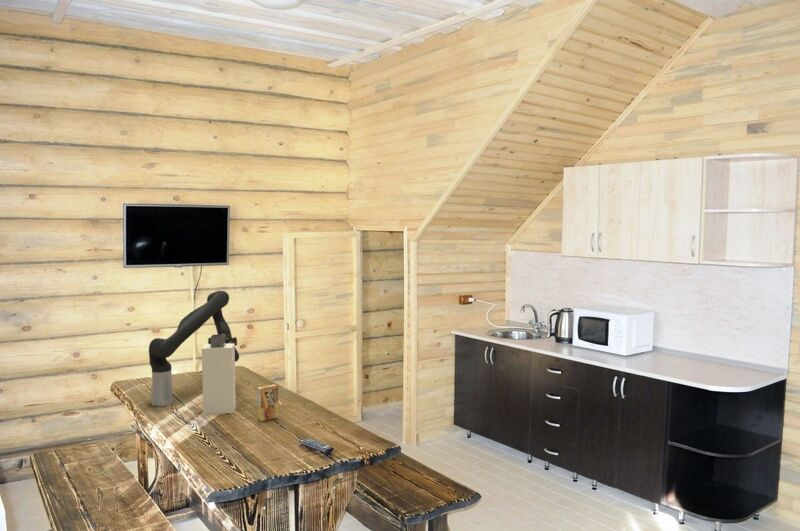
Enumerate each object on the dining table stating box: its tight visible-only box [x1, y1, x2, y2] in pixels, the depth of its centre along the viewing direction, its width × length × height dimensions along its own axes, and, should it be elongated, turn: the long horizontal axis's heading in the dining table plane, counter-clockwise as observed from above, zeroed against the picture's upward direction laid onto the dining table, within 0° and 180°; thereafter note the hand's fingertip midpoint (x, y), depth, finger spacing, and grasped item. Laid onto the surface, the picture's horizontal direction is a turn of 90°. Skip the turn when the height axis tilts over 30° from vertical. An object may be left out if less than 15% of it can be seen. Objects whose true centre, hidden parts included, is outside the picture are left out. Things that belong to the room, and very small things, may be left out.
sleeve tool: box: [209, 334, 226, 348], centre depth 310 cm, size 6×19×5 cm, turn 8°
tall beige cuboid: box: [201, 343, 237, 415], centre depth 306 cm, size 14×10×32 cm
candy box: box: [256, 384, 279, 422], centre depth 296 cm, size 9×4×15 cm, turn 129°
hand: (220, 337), depth 314 cm, fingers open, 7 cm apart
